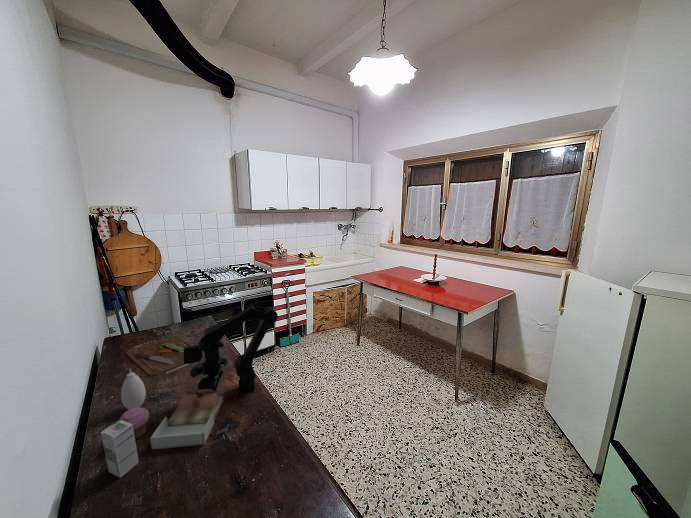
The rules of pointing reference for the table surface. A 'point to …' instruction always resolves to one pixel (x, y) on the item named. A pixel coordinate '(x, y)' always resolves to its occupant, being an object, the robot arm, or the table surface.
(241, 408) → the table surface
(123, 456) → the syrup box
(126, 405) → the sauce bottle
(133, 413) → the cupcake
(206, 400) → the tile
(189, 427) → the tray
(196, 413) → the beige flat panel
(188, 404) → the tile
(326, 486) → the table surface
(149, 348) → the chopping board
